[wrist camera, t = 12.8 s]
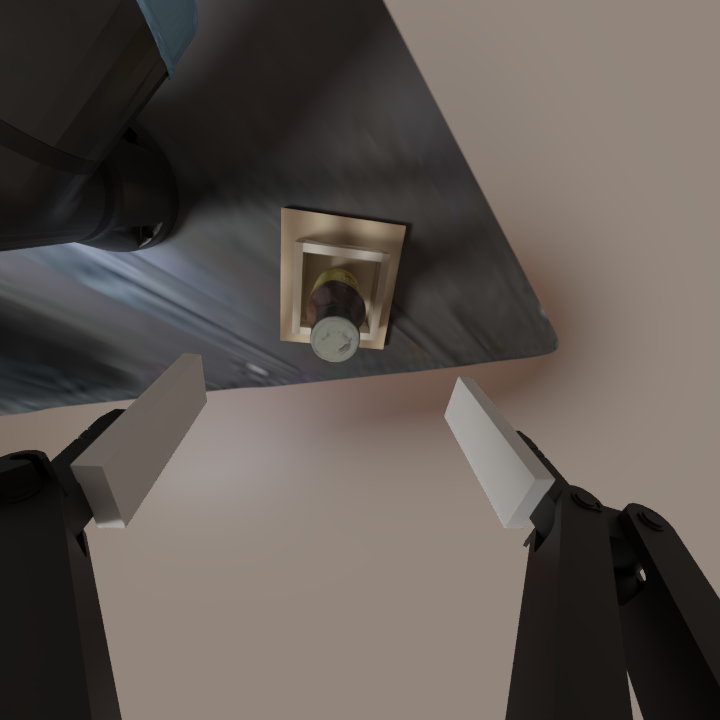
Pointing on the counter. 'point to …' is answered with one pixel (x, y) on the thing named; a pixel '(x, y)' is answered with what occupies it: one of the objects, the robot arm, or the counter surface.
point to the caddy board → (337, 250)
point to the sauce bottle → (335, 315)
